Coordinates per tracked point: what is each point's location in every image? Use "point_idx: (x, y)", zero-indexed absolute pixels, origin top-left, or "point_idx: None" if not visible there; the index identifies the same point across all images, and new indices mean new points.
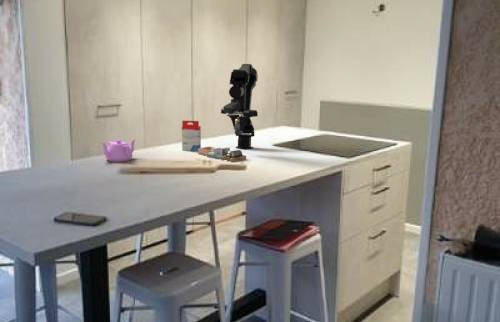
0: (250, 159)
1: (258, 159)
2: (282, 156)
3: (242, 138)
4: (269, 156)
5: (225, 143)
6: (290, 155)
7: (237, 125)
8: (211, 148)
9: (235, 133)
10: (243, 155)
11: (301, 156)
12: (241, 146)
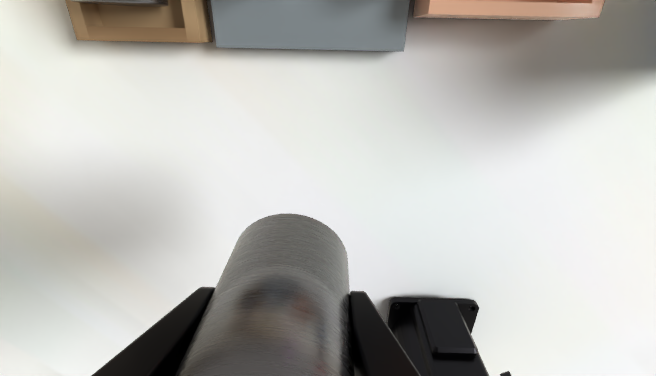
0: (78, 63)
1: (53, 114)
2: (84, 295)
3: (434, 365)
4: (119, 246)
5: (614, 351)
6: (91, 338)
7: (218, 338)
8: (543, 2)
9: (297, 217)
10: (100, 27)
11: (42, 353)
12: (421, 306)
